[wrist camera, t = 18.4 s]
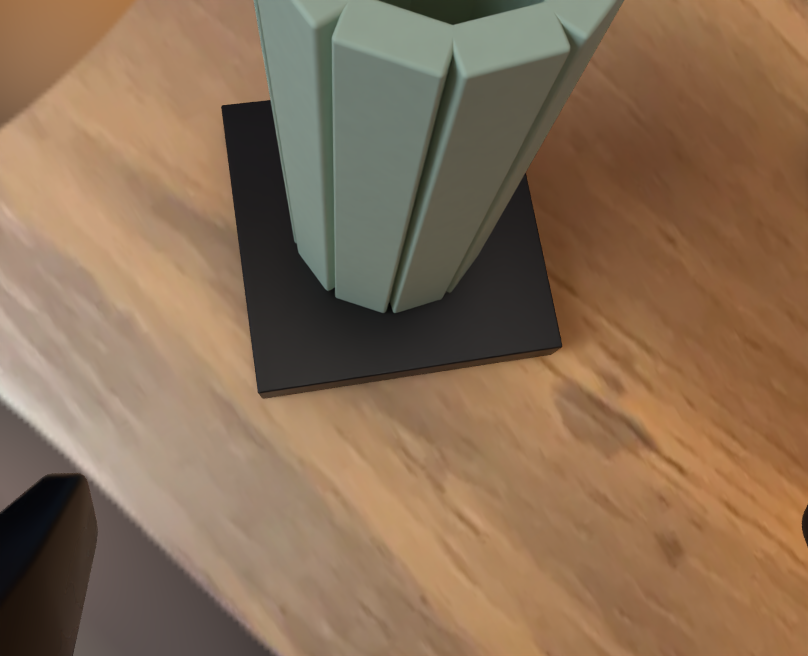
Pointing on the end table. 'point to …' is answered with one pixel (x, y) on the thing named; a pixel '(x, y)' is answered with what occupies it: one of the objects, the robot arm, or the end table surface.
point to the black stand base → (362, 327)
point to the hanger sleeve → (413, 128)
